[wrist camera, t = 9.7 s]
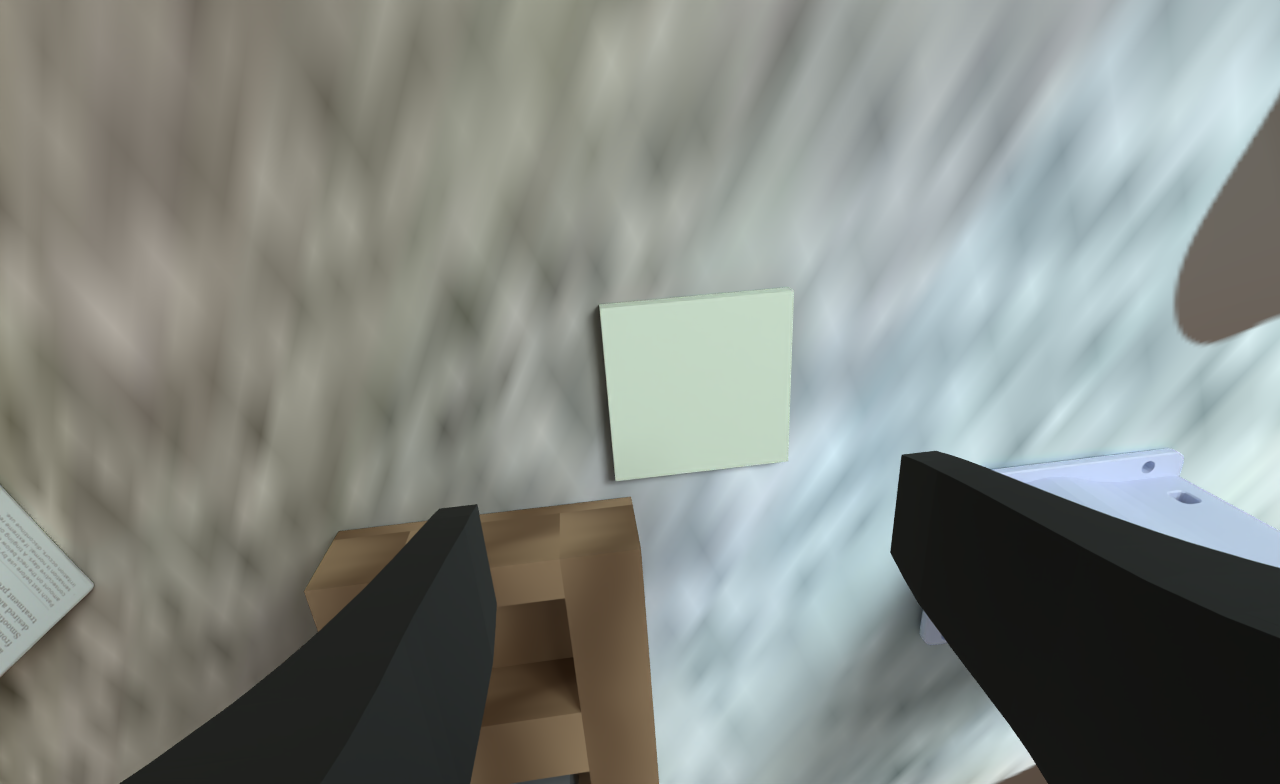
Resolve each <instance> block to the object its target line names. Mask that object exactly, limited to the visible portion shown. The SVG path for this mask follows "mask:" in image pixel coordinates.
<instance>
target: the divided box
mask: <svg viewBox="0 0 1280 784" xmlns="http://www.w3.org/2000/svg"><path fill="white" fill-rule="evenodd" d="M480 521H481V526H482V531H483V536H484V541H485V546H486V551H487V556H488V561H489V566H490V571H491V576H492V581H493V587H494V592H495V597H496V602H497V612H496V629H495V644H494V658H493V666H492V671H491V677H490V683H489V688H488V693H487V699H486V704H485V709H484V715H483V720H482V725H481V730H480V735H479V741H478V746H477V751H476V756H475V761H474V767H473V772H472V777H471V782H470V784H511V783H518V782H524V781H531V780H537V779H544V778H550V777H557V776H563V775H570V774H576V773H578V778H579V784H659V777H658V764H657V751H656V738H655V725H654V712H653V699H652V686H651V673H650V660H649V647H648V634H647V621H646V609H645V596H644V583H643V570H642V557H641V547H640V542H639V536H638V531H637V526H636V521H635V515H634V510H633V505H632V499H631V497H625V498H617V499H608V500H600V501H591V502H583V503H575V504H566V505H558V506H549V507H541V508H532V509H524V510H515V511H507V512H498V513H490V514H481V515H480ZM426 522H427V521H422V522H414V523H405V524H397V525H388V526H380V527H372V528H363V529H355V530H346V531H339V532H338V533H337V535H336V537H335V539H334V540H333V542H332V544H331V546H330V547H329V549H328V551H327V552H326V554H325V556H324V558H323V559H322V561H321V563H320V565H319V566H318V568H317V570H316V571H315V573H314V575H313V577H312V578H311V580H310V582H309V584H308V585H307V587H306V589H305V590H304V593H305V596H306V599H307V601H308V604H309V607H310V610H311V613H312V616H313V619H314V622H315V624H316V627H317V630H318V632H319V631H320V630H321V629H322V628H323V627H324V626H325V625H326V624H327V623H328V622H329V621H330V620H331V619H332V618H333V617H334V616H336V615H337V614H338V613H339V612H340V611H341V610H342V609H343V608H344V607H345V606H346V605H347V604H348V603H349V602H350V601H351V600H352V599H353V598H354V597H356V596H357V595H358V594H359V593H360V592H361V591H362V590H363V589H364V588H365V587H366V586H367V585H368V584H369V583H370V582H371V581H372V580H373V579H374V577H375V576H376V575H377V574H378V573H379V572H380V571H381V570H382V569H383V568H384V567H385V566H386V565H387V564H388V563H389V562H390V561H391V560H392V559H393V558H394V557H395V555H396V554H397V553H398V552H399V551H400V550H401V549H402V548H403V547H404V546H405V545H406V544H407V543H408V542H409V540H410V539H411V538H412V537H413V536H414V535H415V534H416V533H417V532H418V531H419V530H420V528H421V527H422V526H423V525H424V524H425V523H426Z"/></svg>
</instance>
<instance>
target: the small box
mask: <svg viewBox="0 0 1280 784" xmlns="http://www.w3.org/2000/svg"><path fill="white" fill-rule="evenodd" d="M93 588H94V583H93V582H92V581H91V580H90V579H89V578H88V577H87V576H86V575H85V574H84V573H83V572H82V571H81V570H80V569H79V568H78V567H77V565H76V564H75V563H74V562H73V561H72V560H71V559H70V558H69V557H68V556H67V555H66V554H65V553H64V552H63V551H62V550H61V549H60V548H59V547H58V546H57V545H56V544H55V543H54V542H53V541H52V540H51V539H50V537H49V536H48V535H47V534H46V533H45V532H44V531H43V530H42V529H41V528H40V527H39V526H38V525H37V524H36V522H35V521H34V520H33V519H32V518H31V517H30V516H29V515H28V514H27V513H26V512H25V511H24V510H23V508H22V507H21V506H20V505H19V504H18V503H17V502H16V501H15V500H14V499H13V498H12V497H11V496H10V495H9V494H8V492H7V491H6V490H5V489H4V488H3V487H2V486H1V485H0V677H1V676H2V675H3V674H4V673H5V672H6V671H7V670H9V669H10V668H11V667H12V666H13V665H14V664H15V663H16V662H17V661H18V660H19V659H20V658H21V657H22V656H23V655H24V654H25V653H26V652H27V651H28V650H29V649H30V648H31V647H32V646H33V645H34V644H35V643H36V642H37V641H39V640H40V639H41V638H42V637H43V636H44V635H45V634H46V633H47V632H48V631H49V630H50V629H51V628H52V627H53V626H54V625H55V624H56V623H57V622H58V621H59V620H60V619H62V618H63V617H64V616H65V615H66V614H67V613H68V612H69V611H70V610H71V609H72V608H73V607H74V606H75V605H76V604H78V603H79V602H80V601H81V600H82V599H83V598H84V597H85V596H86V595H87V594H88V593H89V592H90V591H91V590H92V589H93Z"/></svg>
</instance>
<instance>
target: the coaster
mask: <svg viewBox="0 0 1280 784" xmlns="http://www.w3.org/2000/svg"><path fill="white" fill-rule="evenodd" d="M793 300H794V291H793V290H792V289H790V288H789V287H786V288H775V289H764V290H753V291H742V292H731V293H720V294H709V295H699V296H688V297H677V298H666V299H655V300H644V301H633V302H622V303H611V304H600V305H599V309H600V320H601V331H602V342H603V353H604V364H605V375H606V385H607V396H608V407H609V418H610V429H611V440H612V451H613V461H614V472H615V479H616V481H622V480H631V479H639V478H648V477H657V476H665V475H674V474H683V473H691V472H700V471H708V470H717V469H726V468H734V467H743V466H752V465H760V464H769V463H778V462H786V461H788V446H789V417H790V387H791V358H792V329H793Z"/></svg>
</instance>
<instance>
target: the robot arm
mask: <svg viewBox="0 0 1280 784" xmlns="http://www.w3.org/2000/svg"><path fill="white" fill-rule="evenodd" d="M1183 463H1184V456H1183V454H1181V453H1180V452H1178V451H1176V450H1174V449H1171V448H1166V449H1158V450H1150V451H1141V452H1133V453H1125V454H1116V455H1108V456H1100V457H1091V458H1083V459H1075V460H1067V461H1058V462H1050V463H1042V464H1033V465H1025V466H1017V467H1008V468H1000V469H992V470H991V469H988V468H986V467H983V466H980V465H978V464H975V463H972V462H969V461H967V460H964V459H961V458H958V457H955V456H952V455H949V454H945V453H942V452H938V451H930V452H921V453H913V454H904V455H902V457H901V465H900V474H899V482H898V491H897V500H896V508H895V517H894V525H893V534H892V543H891V551H890V553H891V555H892V557H893V559H894V561H895V562H896V564H897V566H898V568H899V570H900V572H901V574H902V576H903V577H904V579H905V581H906V583H907V585H908V586H909V588H910V590H911V591H912V593H913V595H914V597H915V598H916V600H917V602H918V603H919V605H920V606H921V608H922V609H923V613H922V619H921V626H920V636H921V637H922V639H923V640H924V642H925V643H926V644H929V645H937V644H944V643H948V644H949V646H950V647H951V648H952V649H953V651H954V652H955V653H956V655H957V656H958V657H959V659H960V660H961V661H962V663H963V664H964V665H965V667H966V668H967V669H968V671H969V672H970V673H971V675H972V676H973V677H974V678H975V680H976V681H977V682H978V684H979V685H980V686H981V688H982V689H983V690H984V692H985V693H986V694H987V696H988V697H989V698H990V700H991V701H992V702H993V704H994V705H995V706H996V708H997V709H998V710H999V712H1000V713H1001V714H1002V715H1003V717H1004V718H1005V719H1006V721H1007V722H1008V723H1009V725H1010V726H1011V728H1012V729H1013V731H1014V732H1015V734H1016V735H1017V736H1018V738H1019V739H1020V741H1021V742H1022V744H1023V745H1024V746H1025V748H1026V749H1027V751H1028V752H1029V754H1030V755H1031V757H1032V758H1033V760H1034V762H1035V763H1036V765H1037V767H1038V768H1039V770H1040V771H1041V773H1042V775H1043V776H1044V778H1045V779H1046V781H1047V783H1048V784H1280V530H1278V529H1276V528H1274V527H1272V526H1270V525H1268V524H1267V523H1265V522H1263V521H1261V520H1259V519H1257V518H1256V517H1254V516H1252V515H1250V514H1248V513H1246V512H1244V511H1243V510H1241V509H1239V508H1237V507H1235V506H1233V505H1232V504H1230V503H1228V502H1226V501H1224V500H1222V499H1220V498H1219V497H1217V496H1215V495H1213V494H1211V493H1209V492H1208V491H1206V490H1204V489H1202V488H1200V487H1198V486H1196V485H1195V484H1193V483H1191V482H1189V481H1187V480H1185V479H1184V478H1182V477H1180V473H1181V470H1182V466H1183ZM496 612H497V602H496V597H495V592H494V587H493V581H492V576H491V571H490V566H489V561H488V556H487V551H486V546H485V541H484V536H483V531H482V526H481V521H480V515H479V510H478V505H477V504H476V505H467V506H459V507H450V508H442V509H439V510H438V511H437V512H436V513H435V514H434V515H433V516H432V517H431V518H430V519H429V520H428V521H427V522H426V523H425V524H424V525H423V526H422V527H421V528H420V530H419V531H418V532H417V533H416V534H415V535H414V536H413V537H412V538H411V539H410V540H409V542H408V543H407V544H406V545H405V546H404V547H403V548H402V549H401V550H400V551H399V552H398V553H397V554H396V555H395V557H394V558H393V559H392V560H391V561H390V562H389V563H388V564H387V565H386V566H385V567H384V568H383V569H382V570H381V571H380V572H379V573H378V574H377V575H376V576H375V577H374V579H373V580H372V581H371V582H370V583H369V584H368V585H367V586H366V587H365V588H364V589H363V590H362V591H361V592H360V593H359V594H358V595H357V596H356V597H354V598H353V599H352V600H351V601H350V602H349V603H348V604H347V605H346V606H345V607H344V608H343V609H342V610H341V611H340V612H339V613H338V614H337V615H336V616H334V617H333V618H332V619H331V620H330V621H329V622H328V623H327V624H326V625H325V626H324V627H323V628H322V629H321V630H320V631H319V632H318V633H317V634H316V635H315V636H313V637H312V638H311V639H310V640H309V641H308V642H307V643H306V644H304V645H303V646H302V647H301V648H300V649H299V650H298V651H296V652H295V653H294V654H293V655H292V656H291V657H289V658H288V659H287V660H286V661H285V662H284V663H282V664H281V665H280V666H279V667H278V668H276V669H275V670H274V671H273V672H271V673H270V674H269V675H268V676H266V677H265V678H264V679H263V680H261V681H260V682H259V683H258V684H257V685H255V686H254V687H253V688H252V689H250V690H249V691H248V692H247V693H245V694H244V695H243V696H242V697H240V698H239V699H238V700H236V701H235V702H234V703H232V704H231V705H230V706H229V707H227V708H226V709H224V710H223V711H222V712H220V713H219V714H218V715H216V716H215V717H213V718H212V719H211V720H209V721H208V722H206V723H205V724H204V725H202V726H201V727H199V728H198V729H197V730H195V731H194V732H192V733H191V734H190V735H188V736H187V737H186V738H184V739H183V740H181V741H180V742H179V743H177V744H176V745H174V746H173V747H172V748H170V749H169V750H167V751H166V752H165V753H163V754H162V755H161V756H159V757H158V758H156V759H155V760H154V761H152V762H151V763H149V764H148V765H147V766H145V767H144V768H142V769H141V770H139V771H138V772H136V773H135V774H133V775H132V776H130V777H129V778H127V779H126V780H124V781H123V782H121V783H120V784H470V782H471V777H472V772H473V767H474V761H475V756H476V751H477V746H478V741H479V735H480V730H481V725H482V720H483V715H484V709H485V704H486V699H487V693H488V688H489V683H490V677H491V671H492V666H493V658H494V644H495V629H496Z"/></svg>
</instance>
